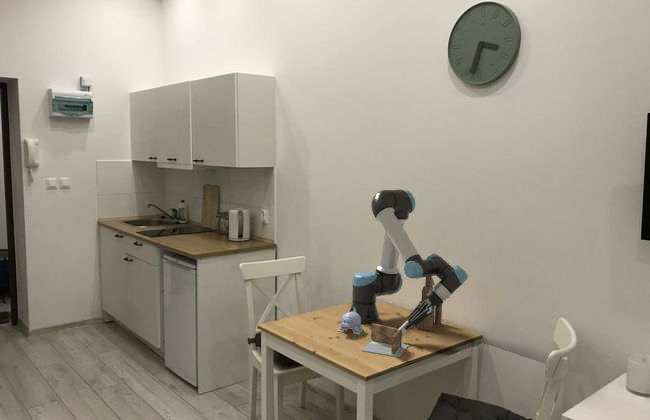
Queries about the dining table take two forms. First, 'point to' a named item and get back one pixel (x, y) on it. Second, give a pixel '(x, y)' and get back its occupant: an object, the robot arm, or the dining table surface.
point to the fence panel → (382, 333)
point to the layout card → (383, 348)
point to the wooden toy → (429, 320)
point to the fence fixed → (396, 341)
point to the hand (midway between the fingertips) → (399, 333)
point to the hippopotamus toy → (351, 322)
